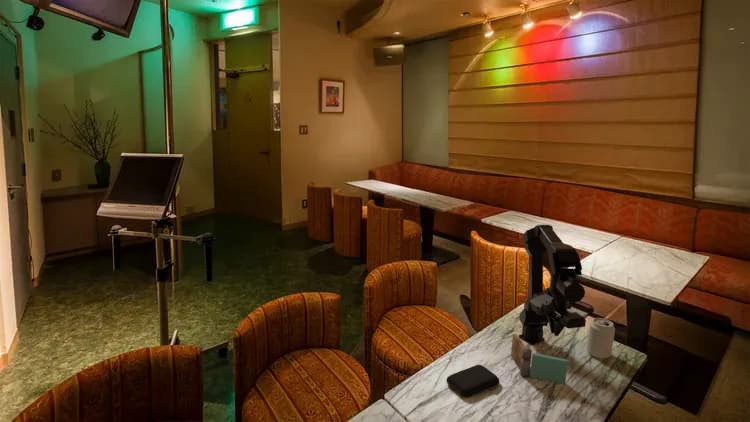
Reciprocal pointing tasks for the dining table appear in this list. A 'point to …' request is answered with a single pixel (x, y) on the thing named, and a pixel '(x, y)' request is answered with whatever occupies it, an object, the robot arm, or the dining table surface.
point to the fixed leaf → (520, 354)
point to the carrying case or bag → (473, 380)
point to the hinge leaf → (546, 368)
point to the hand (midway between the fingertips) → (554, 334)
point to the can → (600, 338)
